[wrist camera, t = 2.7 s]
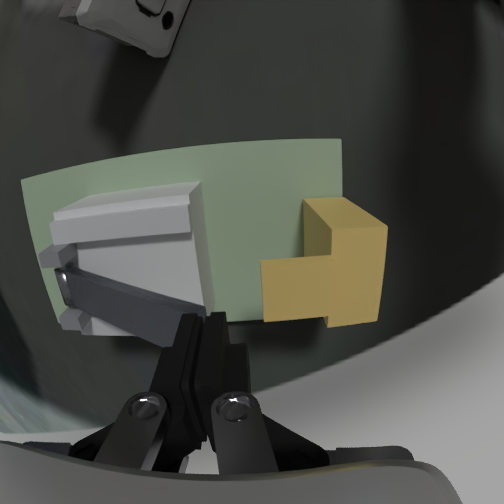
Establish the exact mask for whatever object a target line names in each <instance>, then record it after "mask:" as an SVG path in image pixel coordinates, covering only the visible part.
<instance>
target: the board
mask: <svg viewBox="0 0 504 504" xmlns="http://www.w3.org/2000/svg"><path fill="white" fill-rule="evenodd" d="M21 184H22V190H23V196H24V202H25V207H26V212H27V217H28V222H29V226H30V231H31V235H32V239H33V243H34V247H35V251H36V255H37V258H38V262H39V266H40V269H41V272H42V276H43V279H44V282H45V285H46V288H47V291H48V294H49V297H50V300H51V303H52V306H53V309H54V311H55V314H56V317H57V319H58V322H59V323H61V326H62V328H63V330H81V333H82V335H110V336H135V335H133V334H131V333H129V332H127V331H124V330H122V329H120V328H118V327H116V326H114V325H112V324H110V323H108V322H106V321H103V320H101V319H99V318H97V317H95V316H93V315H91V314H90V313H88V312H86V311H84V310H82V309H80V308H78V307H76V306H66V305H65V303H64V301H63V298H62V295H61V291H60V288H59V285H58V282H57V279H56V275H55V272H54V269H55V268H56V267H62V266H63V265H65V264H66V263H74V267H76V268H79V269H82V270H85V271H88V272H91V273H94V274H97V275H100V276H103V277H106V278H110V279H113V280H116V281H119V282H122V283H126V284H129V285H132V286H135V287H139V288H142V289H146V290H149V291H152V292H156V293H159V294H163V295H166V296H170V297H173V298H177V299H181V300H184V301H188V302H192V303H195V304H199V305H203V306H205V307H206V313H207V316H210V314H211V312H220V311H225V312H226V318H227V322H230V321H246V320H260V319H264V317H263V302H262V285H261V268H260V260H270V259H284V258H297V257H304V220H303V199H308V198H331V197H342V148H341V139H285V140H263V141H247V142H233V143H221V144H210V145H201V146H192V147H183V148H175V149H168V150H160V151H154V152H147V153H141V154H134V155H129V156H123V157H117V158H112V159H107V160H101V161H96V162H92V163H87V164H82V165H78V166H73V167H69V168H64V169H60V170H56V171H52V172H48V173H44V174H40V175H37V176H33V177H29V178H26V179H23V180H21Z"/></svg>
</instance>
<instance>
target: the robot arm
mask: <svg viewBox="0 0 504 504" xmlns="http://www.w3.org/2000/svg"><path fill="white" fill-rule="evenodd" d="M207 434H208V437H209V440H210V443H211V446H212V450H213V451H214V452H215V453H216V454H217V461H218V468H219V475H217V474H216V475H215V474H214V475H213V474H212V475H211V474H185V470H186V467H187V464H188V459H189V457H188V454H190V453H191V452H193V451H194V450H195V449H199V450H200V449H201V444H202V442H204V441H205V442H206V441H207ZM0 504H462V502H461V500H460V498H459V496H458V494H457V493H456V491H455V489H454V487H453V486H452V484H451V483H450V481H449V480H448V478H447V477H446V476H445V475H444V474H443V473H442V472H441V471H440V470H439V469H438V468H436V467H435V466H433V465H431V464H427V463H424V462H419V461H414V458H413V456H412V454H411V453H410V452H409V450H407V449H406V448H403V447H401V446H383V447H360V448H336V450H335V451H334V450H331V451H330V450H324V449H323V448H321V447H320V446H318V445H316V444H315V443H313V442H311V441H309V440H307V439H305V438H304V437H302V436H300V435H298V434H296V433H294V432H293V431H291V430H289V429H287V428H286V427H284V426H282V425H280V424H279V423H277V422H275V421H274V420H272V419H270V418H269V417H267V416H265V415H264V414H262V412H261V409H260V405H259V403H258V401H257V399H256V398H255V397H254V396H253V395H251V383H250V366H249V355H248V346H247V343H242V344H230V339H229V332H228V325H227V318H226V312H225V311H220V312H211V314H210V316H206V317H205V322H204V321H203V317H202V316H198V315H197V313H184V314H182V316H181V319H180V322H179V325H178V329H177V332H176V335H175V339H174V342H173V345H172V347H164V348H163V349H162V352H161V355H160V358H159V361H158V364H157V367H156V371H155V374H154V377H153V380H152V383H151V386H150V389H149V392H142V393H138V394H136V395H134V396H132V397H131V398H129V399H128V401H127V402H126V403H125V405H124V406H123V408H122V410H121V412H120V414H119V415H118V417H117V419H116V421H115V422H114V423H112V424H110V425H108V426H106V427H105V428H103V429H101V430H99V431H97V432H95V433H93V434H91V435H89V436H87V437H86V438H84V439H82V440H80V441H78V442H77V443H75V444H74V445H71V444H70V443H55V442H33V441H30V442H25V443H23V444H21V443H16V442H10V441H0Z"/></svg>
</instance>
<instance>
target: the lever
mask: <svg viewBox="0 0 504 504" xmlns="http://www.w3.org/2000/svg"><path fill="white" fill-rule="evenodd" d="M54 272H55V275H56V279H57V282H58V285H59V288H60V291H61V295H62V298H63V301H64V303H65V305H66V306H76V307H78V308H80V309H82V310H84V311H86V312H88V313H90V314H91V315H93V316H95V317H97V318H99V319H101V320H103V321H106V322H108V323H110V324H112V325H114V326H116V327H118V328H120V329H122V330H124V331H127V332H129V333H131V334H133V335H135V336H138V337H140V338H142V339H144V340H147V341H149V342H151V343H154V344H156V345H158V346H161V347H163V348H164V347H172V345H173V342H174V339H175V335H176V332H177V329H178V325H179V322H180V319H181V316H182V314H184V313H197V315H198V316H202V317H203V321H204V322H205V317H206V316H207V313H206V307H205V306H203V305H199V304H195V303H192V302H188V301H184V300H181V299H177V298H173V297H170V296H166V295H163V294H159V293H156V292H152V291H149V290H146V289H142V288H139V287H135V286H132V285H129V284H126V283H122V282H119V281H116V280H113V279H110V278H106V277H103V276H100V275H97V274H94V273H91V272H88V271H85V270H82V269H79V268H76V267H74V263H66V264H65V265H63V266H62V267H56V268H55V269H54Z"/></svg>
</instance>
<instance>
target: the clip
mask: <svg viewBox="0 0 504 504" xmlns="http://www.w3.org/2000/svg"><path fill="white" fill-rule="evenodd" d="M303 220H304V257H297V258H284V259H270V260H260V268H261V285H262V302H263V317H264V322H271V321H283V320H294V319H305V318H315V317H323V318H324V320H325V323H326V325H327V327H336V326H344V325H352V324H359V323H366V322H373V321H377V318H378V312H379V305H380V298H381V291H382V283H383V274H384V265H385V255H386V244H387V232H388V226H387V225H385V224H384V223H382V222H381V221H379V220H378V219H376V218H375V217H373V216H372V215H370V214H369V213H367V212H366V211H364V210H363V209H361V208H360V207H358V206H357V205H355V204H354V203H352V202H350V201H349V200H347V199H346V198H344V197H331V198H308V199H303Z"/></svg>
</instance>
